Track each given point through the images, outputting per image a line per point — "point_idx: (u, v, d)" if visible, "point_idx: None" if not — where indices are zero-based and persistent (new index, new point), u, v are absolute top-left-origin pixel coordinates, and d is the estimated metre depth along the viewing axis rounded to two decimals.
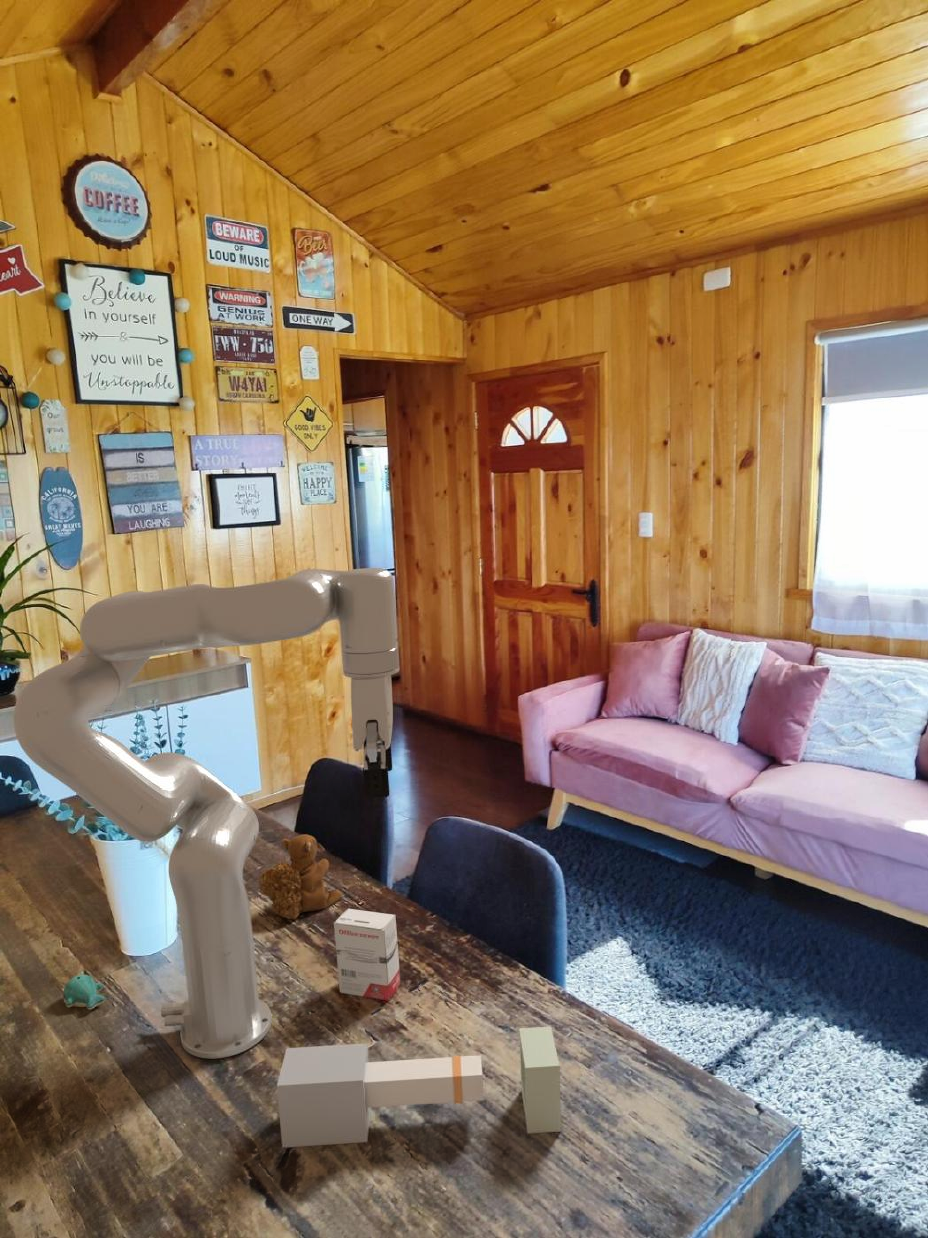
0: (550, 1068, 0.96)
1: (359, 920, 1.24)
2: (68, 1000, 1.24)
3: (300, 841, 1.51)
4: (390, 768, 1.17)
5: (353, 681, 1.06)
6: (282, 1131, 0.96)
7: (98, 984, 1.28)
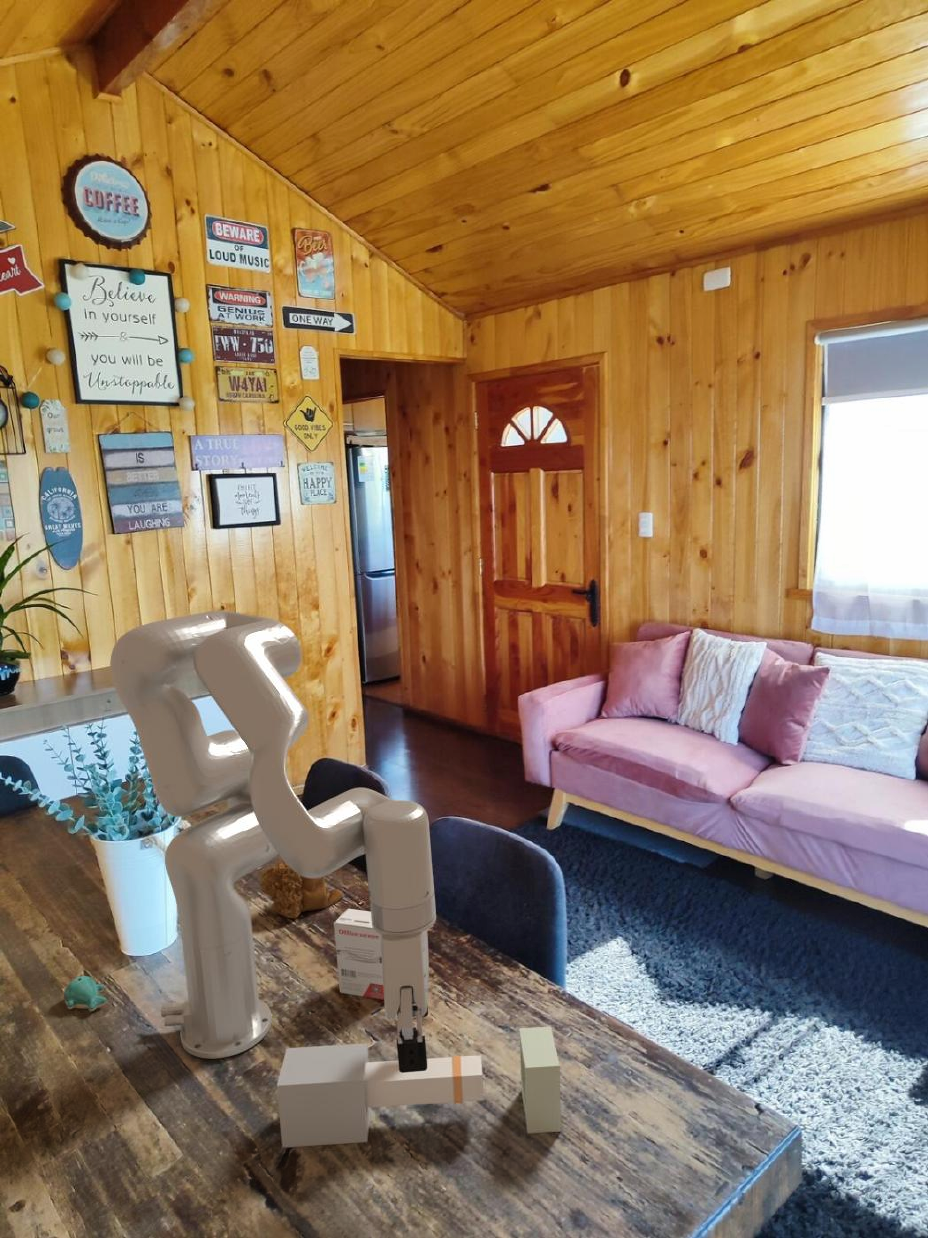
0: (550, 1068, 0.96)
1: (359, 920, 1.24)
2: (69, 1002, 1.24)
3: None
4: (426, 1014, 1.03)
5: (384, 941, 0.92)
6: (282, 1131, 0.96)
7: (99, 985, 1.28)
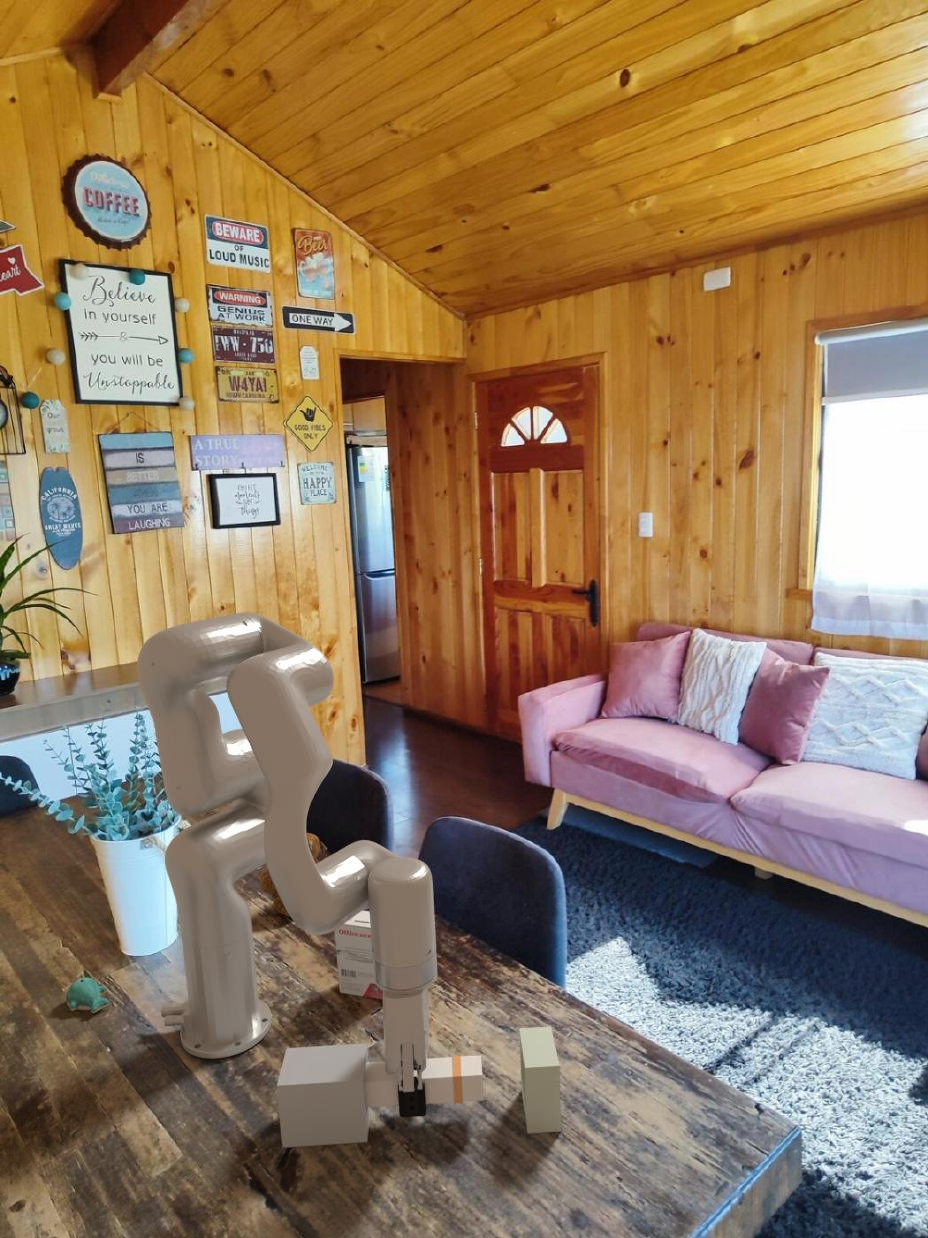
0: (550, 1068, 0.96)
1: (359, 920, 1.24)
2: (72, 1003, 1.23)
3: None
4: None
5: (386, 999, 0.93)
6: (282, 1131, 0.96)
7: (102, 987, 1.27)
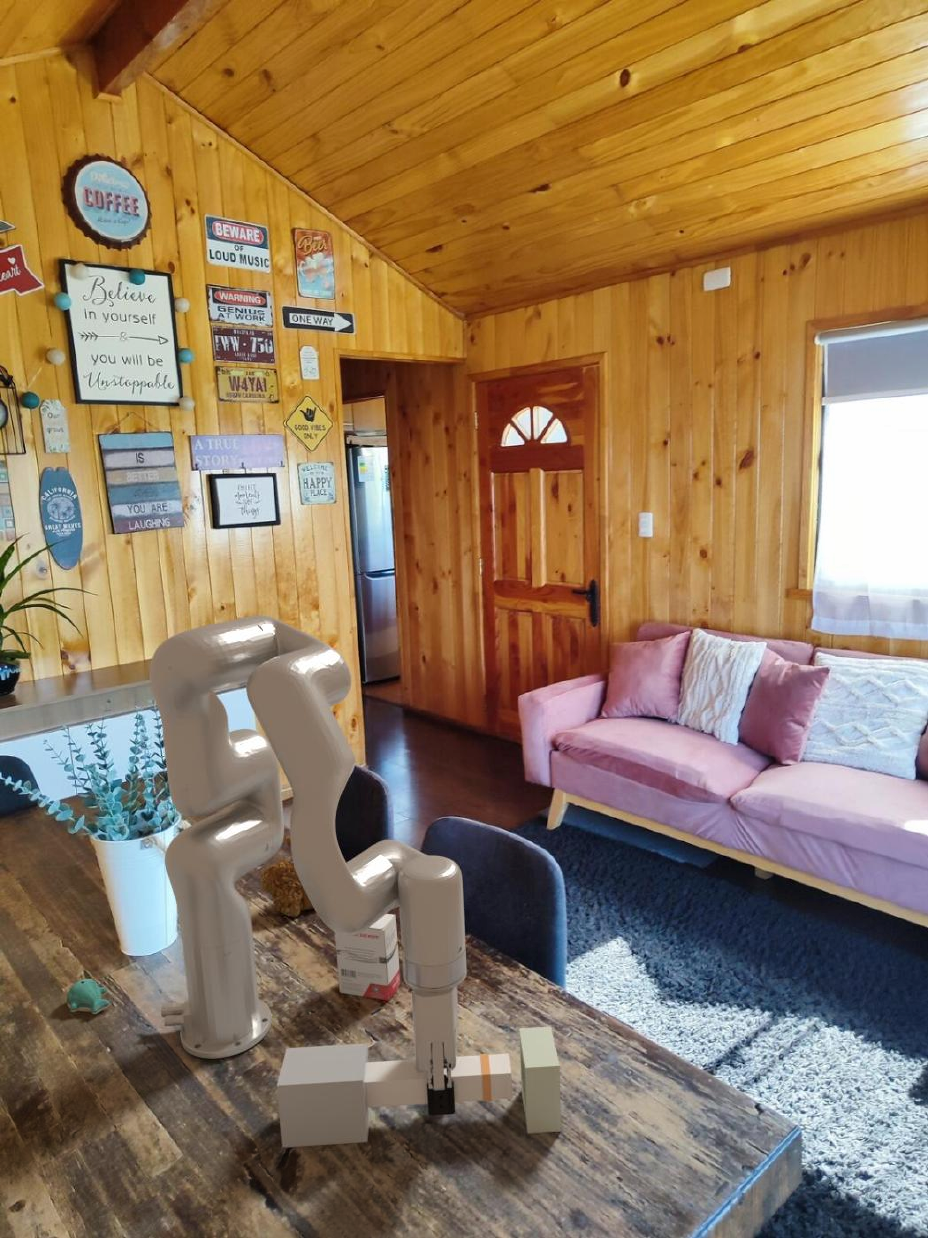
0: (550, 1068, 0.96)
1: None
2: (72, 1005, 1.23)
3: None
4: None
5: (416, 997, 0.93)
6: (282, 1131, 0.96)
7: (102, 988, 1.27)
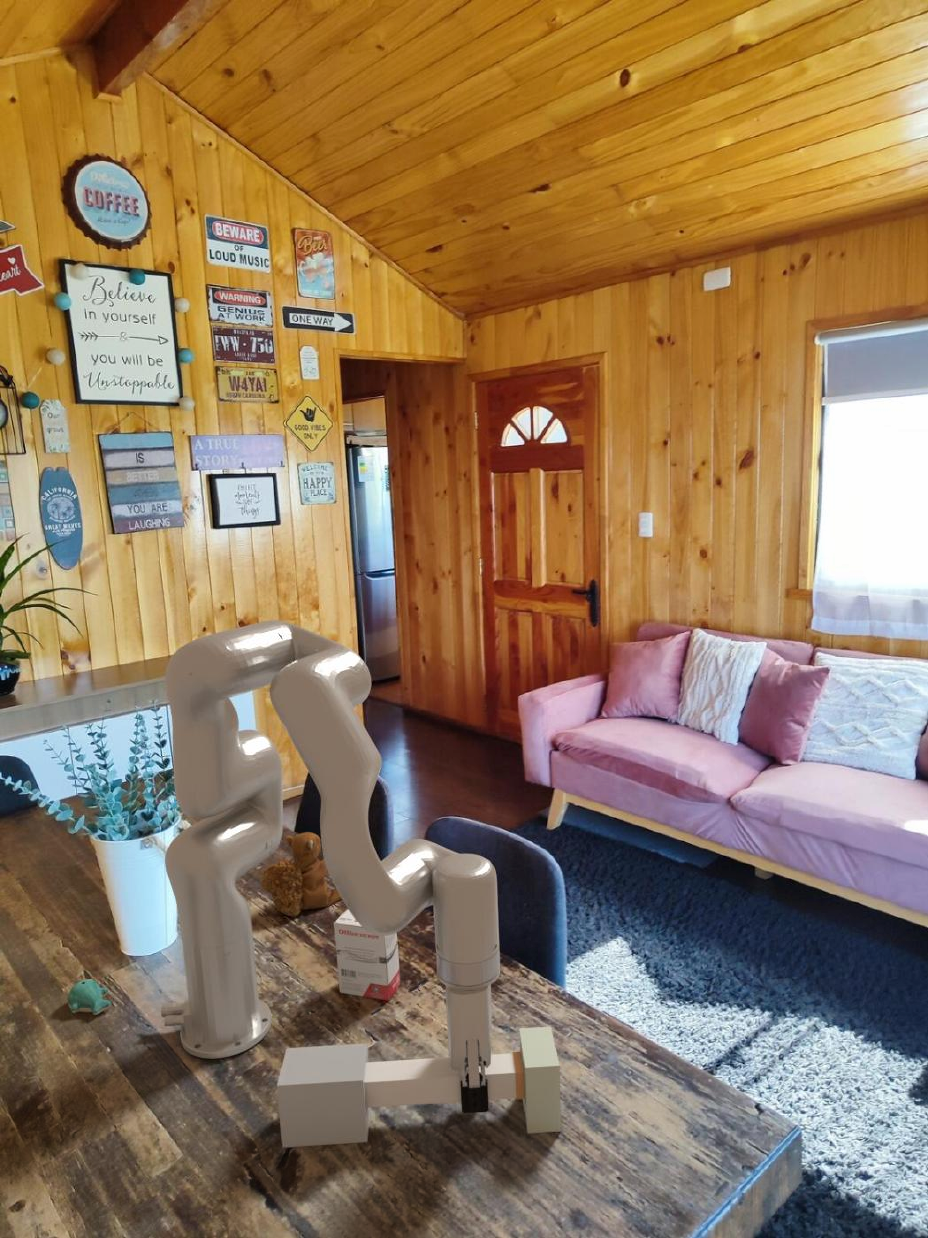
0: (550, 1068, 0.96)
1: None
2: (73, 1005, 1.23)
3: (303, 839, 1.51)
4: None
5: (451, 995, 0.93)
6: (282, 1131, 0.96)
7: (103, 989, 1.27)
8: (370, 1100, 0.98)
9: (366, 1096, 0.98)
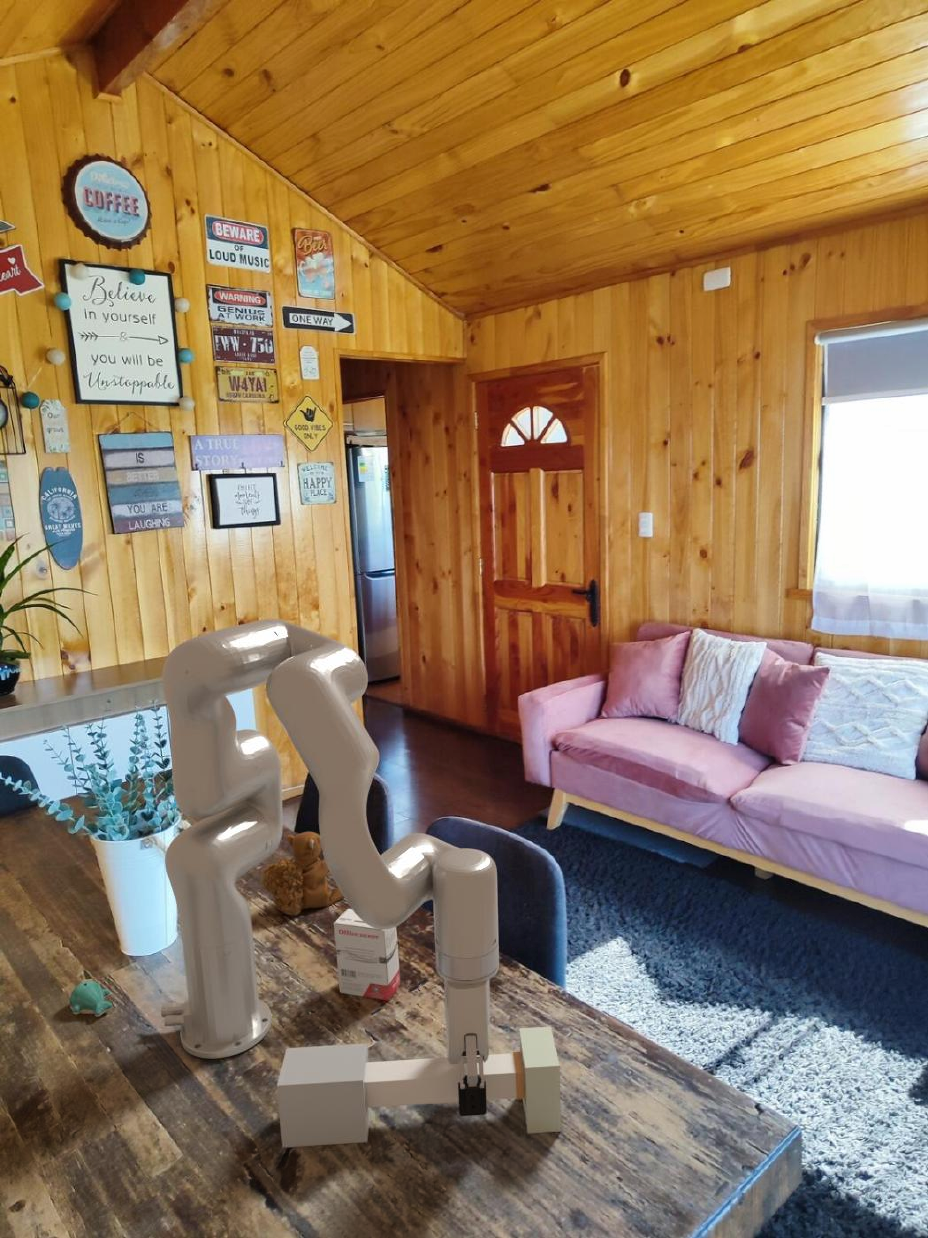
0: (550, 1068, 0.96)
1: (359, 920, 1.24)
2: (75, 1007, 1.23)
3: (304, 838, 1.52)
4: None
5: (450, 989, 0.93)
6: (282, 1131, 0.96)
7: (105, 990, 1.26)
8: (370, 1100, 0.98)
9: (366, 1096, 0.98)
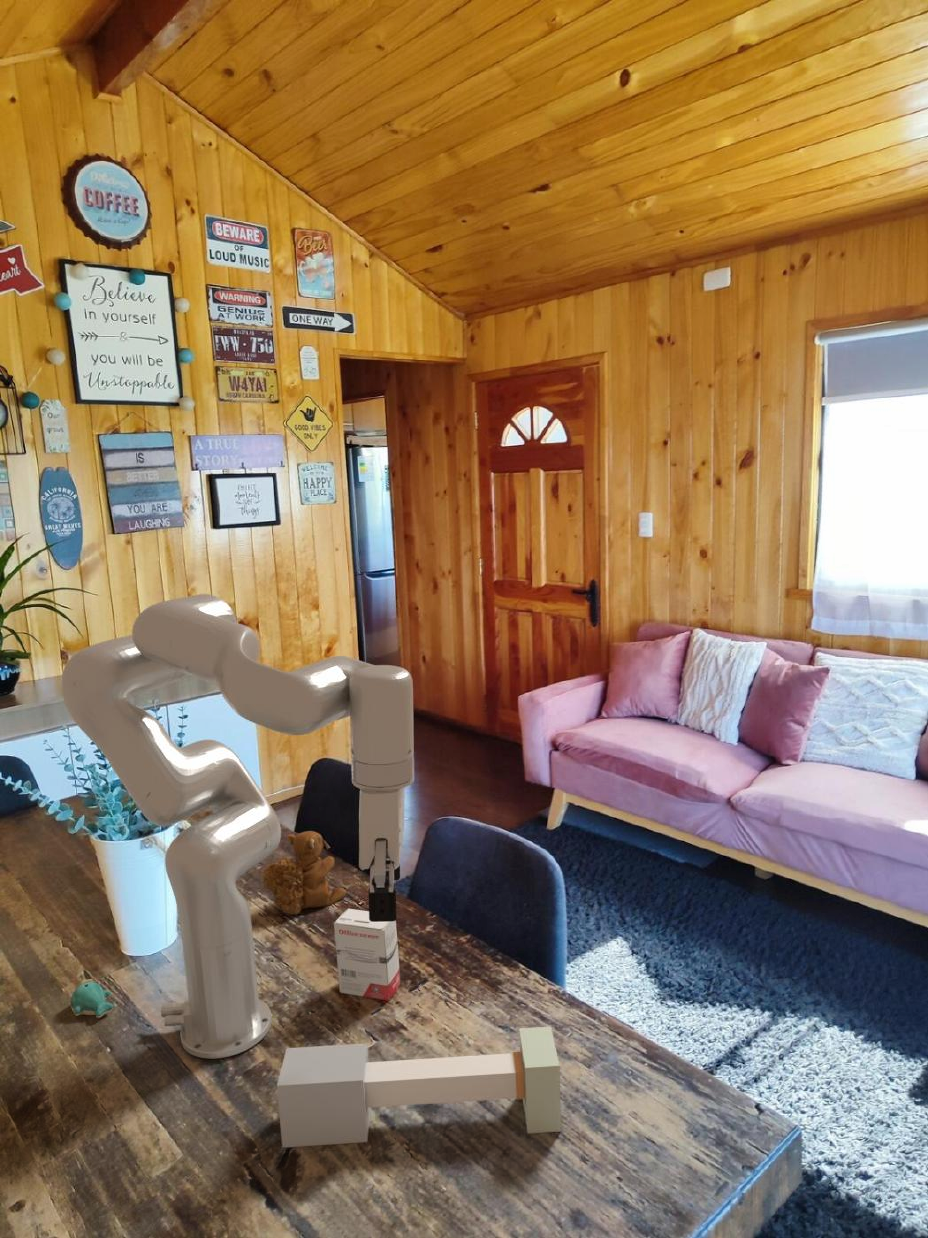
0: (550, 1068, 0.96)
1: (359, 920, 1.24)
2: (76, 1008, 1.22)
3: (304, 838, 1.52)
4: (398, 877, 1.07)
5: (362, 794, 0.95)
6: (282, 1131, 0.96)
7: (106, 991, 1.26)
8: (370, 1100, 0.98)
9: (366, 1096, 0.98)
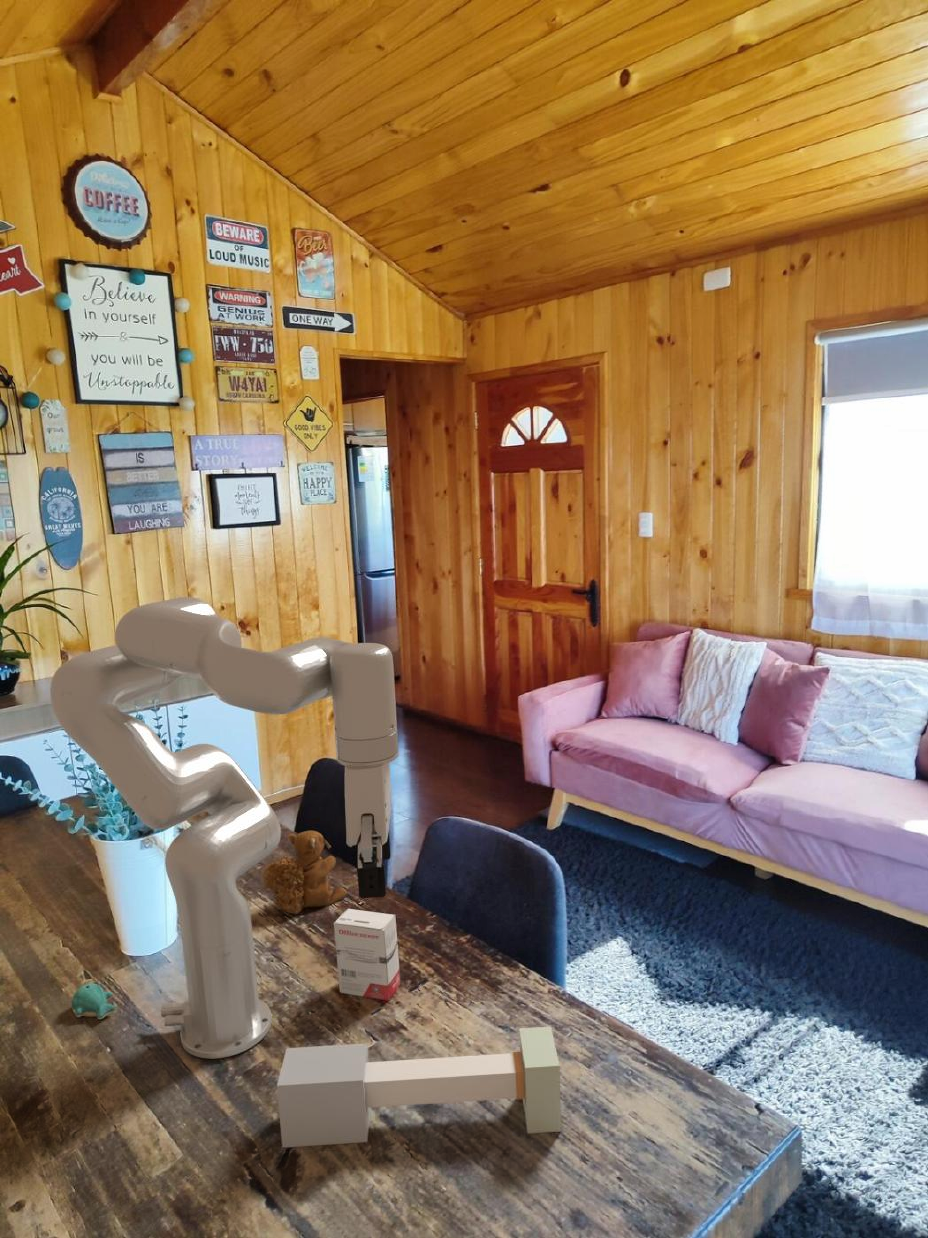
0: (550, 1068, 0.96)
1: (359, 920, 1.24)
2: (78, 1010, 1.22)
3: (305, 837, 1.52)
4: (388, 857, 1.07)
5: (347, 770, 0.96)
6: (282, 1131, 0.96)
7: (107, 993, 1.26)
8: (370, 1100, 0.98)
9: (366, 1096, 0.98)
